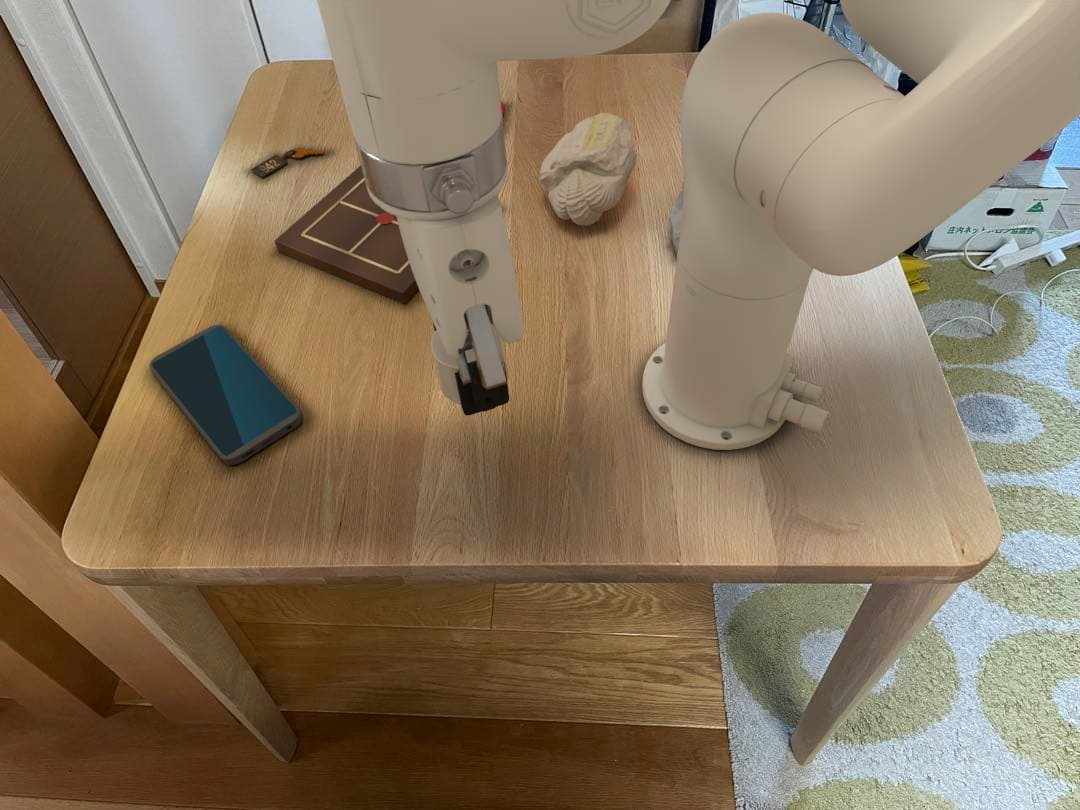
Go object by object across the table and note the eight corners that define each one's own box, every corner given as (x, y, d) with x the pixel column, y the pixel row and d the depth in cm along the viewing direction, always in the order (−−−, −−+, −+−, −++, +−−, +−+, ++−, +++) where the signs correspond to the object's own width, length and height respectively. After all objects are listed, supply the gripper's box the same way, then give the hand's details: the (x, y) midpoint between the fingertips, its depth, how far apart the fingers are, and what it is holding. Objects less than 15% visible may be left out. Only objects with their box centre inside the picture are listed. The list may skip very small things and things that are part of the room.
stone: (521, 368, 57) (516, 328, 54) (484, 416, 55) (478, 378, 52) (463, 344, 59) (456, 305, 56) (425, 390, 57) (416, 352, 53)
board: (493, 209, 87) (492, 197, 86) (405, 304, 78) (402, 292, 77) (373, 167, 92) (370, 155, 91) (278, 252, 84) (273, 239, 83)
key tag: (258, 179, 91) (256, 175, 91) (248, 166, 93) (246, 162, 92) (325, 153, 94) (324, 148, 93) (314, 141, 96) (313, 136, 95)
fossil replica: (546, 243, 84) (641, 237, 85) (552, 178, 77) (656, 173, 78) (529, 165, 90) (618, 160, 92) (533, 98, 83) (629, 95, 85)
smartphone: (228, 470, 67) (225, 464, 66) (148, 368, 74) (143, 361, 73) (308, 420, 70) (305, 413, 69) (223, 326, 77) (220, 319, 76)
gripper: (559, 232, 38) (569, 454, 52) (455, 56, 48) (487, 283, 62) (403, 276, 37) (457, 491, 51) (329, 86, 47) (392, 311, 61)
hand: (473, 375), depth 57 cm, fingers closed on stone, 4 cm apart
